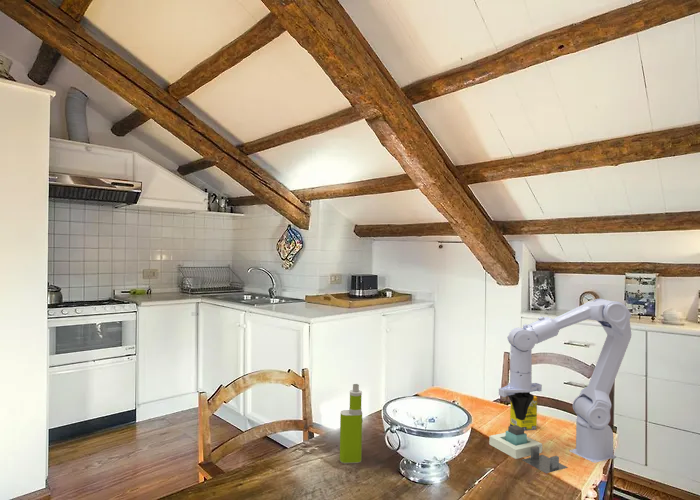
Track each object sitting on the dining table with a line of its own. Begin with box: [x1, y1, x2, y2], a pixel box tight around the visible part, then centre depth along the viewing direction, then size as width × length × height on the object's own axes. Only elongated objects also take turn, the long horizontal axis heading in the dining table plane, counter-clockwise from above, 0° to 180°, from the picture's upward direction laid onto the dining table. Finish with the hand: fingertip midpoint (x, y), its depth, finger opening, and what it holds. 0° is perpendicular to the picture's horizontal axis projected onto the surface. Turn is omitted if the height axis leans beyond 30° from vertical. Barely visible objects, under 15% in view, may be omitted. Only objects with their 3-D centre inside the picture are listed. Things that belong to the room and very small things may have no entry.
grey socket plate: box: [521, 446, 569, 474], centre depth 115 cm, size 8×8×4 cm
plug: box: [505, 425, 528, 446], centre depth 124 cm, size 4×4×7 cm
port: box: [488, 432, 543, 460], centre depth 124 cm, size 10×10×3 cm
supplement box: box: [509, 395, 538, 432], centre depth 141 cm, size 6×6×11 cm
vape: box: [339, 383, 363, 464], centre depth 116 cm, size 4×6×20 cm, turn 98°
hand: (520, 418), depth 123 cm, fingers closed
